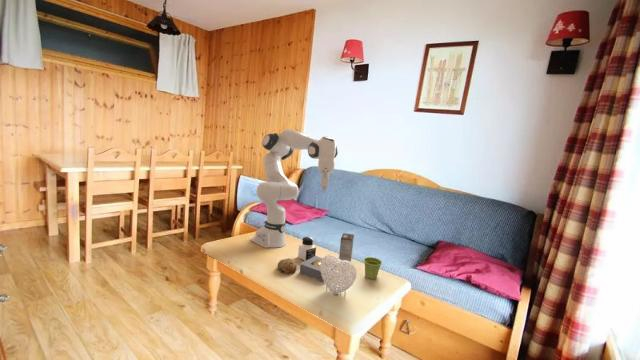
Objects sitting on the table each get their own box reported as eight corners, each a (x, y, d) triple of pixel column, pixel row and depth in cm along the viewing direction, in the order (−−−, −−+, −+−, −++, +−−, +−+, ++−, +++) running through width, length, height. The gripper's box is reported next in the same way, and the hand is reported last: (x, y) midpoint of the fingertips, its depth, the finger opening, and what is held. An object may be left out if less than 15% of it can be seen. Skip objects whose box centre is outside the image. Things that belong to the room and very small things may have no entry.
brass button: (310, 269, 161) (311, 263, 160) (316, 265, 166) (317, 259, 165) (320, 273, 158) (321, 266, 157) (326, 269, 163) (327, 262, 162)
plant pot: (383, 277, 163) (385, 262, 162) (373, 282, 157) (375, 266, 155) (369, 270, 170) (370, 255, 168) (358, 275, 163) (360, 259, 162)
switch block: (299, 273, 160) (300, 263, 159) (314, 264, 172) (315, 255, 171) (322, 282, 153) (323, 272, 152) (336, 272, 165) (337, 263, 164)
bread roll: (275, 276, 162) (272, 266, 157) (283, 262, 169) (281, 251, 165) (292, 281, 158) (290, 270, 154) (300, 266, 166) (298, 255, 162)
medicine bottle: (305, 261, 174) (307, 241, 172) (297, 256, 179) (299, 236, 178) (315, 258, 179) (317, 238, 177) (307, 254, 184) (309, 234, 182)
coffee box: (340, 259, 182) (343, 232, 179) (351, 261, 181) (354, 234, 178) (337, 265, 173) (340, 237, 170) (349, 267, 172) (352, 239, 169)
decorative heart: (312, 290, 144) (316, 255, 142) (326, 282, 153) (329, 249, 150) (345, 306, 134) (350, 268, 131) (358, 296, 142) (362, 261, 140)
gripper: (331, 170, 161) (329, 196, 163) (331, 165, 181) (329, 188, 183) (319, 168, 161) (317, 195, 163) (321, 164, 181) (318, 187, 184)
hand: (323, 191), depth 174 cm, fingers closed
